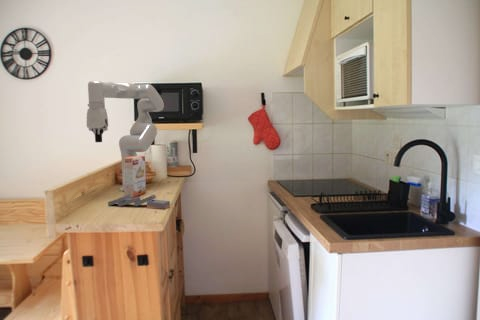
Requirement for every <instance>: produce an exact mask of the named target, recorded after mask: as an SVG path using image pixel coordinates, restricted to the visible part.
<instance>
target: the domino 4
mask: <svg viewBox="0 0 480 320" xmlns="http://www.w3.org/2000/svg"><path fill="white" fill-rule="evenodd" d="M170 202H171V201H170V200H164V199H163V200H161V199H153V200H150V201H148V202H146V207H147V206H155V207H166V206H168V205H170V206H171V203H170Z"/></svg>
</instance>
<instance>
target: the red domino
mask: <svg viewBox="0 0 480 320" xmlns="http://www.w3.org/2000/svg"><path fill="white" fill-rule="evenodd" d="M169 207H171V204H170V205H168V206H166V207H155V206H147V205H146V208H147V209H158V210H160V209H161V210H162V209H163V210H166V209H168V208H169Z"/></svg>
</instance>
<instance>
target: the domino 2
mask: <svg viewBox="0 0 480 320" xmlns="http://www.w3.org/2000/svg"><path fill="white" fill-rule="evenodd" d="M140 200H141V197H140V196H137V197H135V198H130V199H127V200H124V201H122V202H119V203H117V206H118V207H122V206H126V205H130V204H134V203H135V202H137V201H140Z"/></svg>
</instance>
